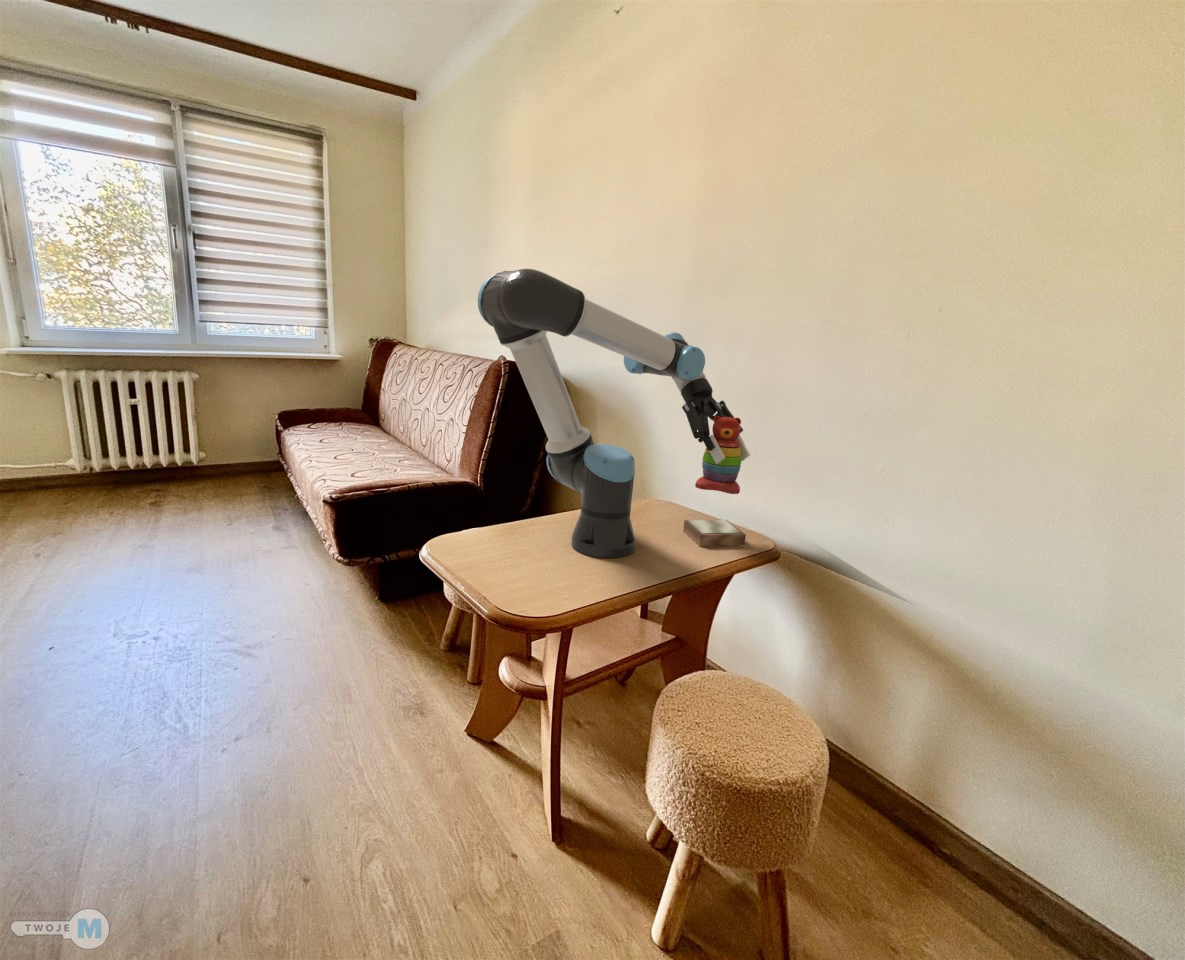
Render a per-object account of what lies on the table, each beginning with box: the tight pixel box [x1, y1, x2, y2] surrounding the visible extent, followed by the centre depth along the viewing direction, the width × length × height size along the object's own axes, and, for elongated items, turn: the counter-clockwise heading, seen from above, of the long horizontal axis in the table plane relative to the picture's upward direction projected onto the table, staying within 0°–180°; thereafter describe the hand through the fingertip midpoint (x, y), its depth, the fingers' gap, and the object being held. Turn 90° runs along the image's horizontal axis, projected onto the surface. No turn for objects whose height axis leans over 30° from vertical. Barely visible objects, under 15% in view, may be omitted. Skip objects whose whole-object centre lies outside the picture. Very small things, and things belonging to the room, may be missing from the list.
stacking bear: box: [694, 416, 742, 495], centre depth 135 cm, size 11×10×18 cm
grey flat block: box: [682, 519, 746, 548], centre depth 140 cm, size 12×11×3 cm
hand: (733, 459), depth 133 cm, fingers closed on stacking bear, 9 cm apart
